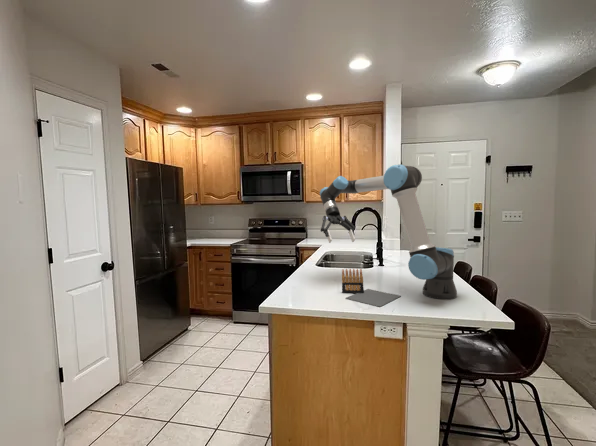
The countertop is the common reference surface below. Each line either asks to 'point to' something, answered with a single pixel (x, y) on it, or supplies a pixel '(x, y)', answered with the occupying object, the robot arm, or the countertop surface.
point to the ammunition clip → (351, 285)
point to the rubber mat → (373, 297)
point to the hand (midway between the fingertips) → (342, 241)
